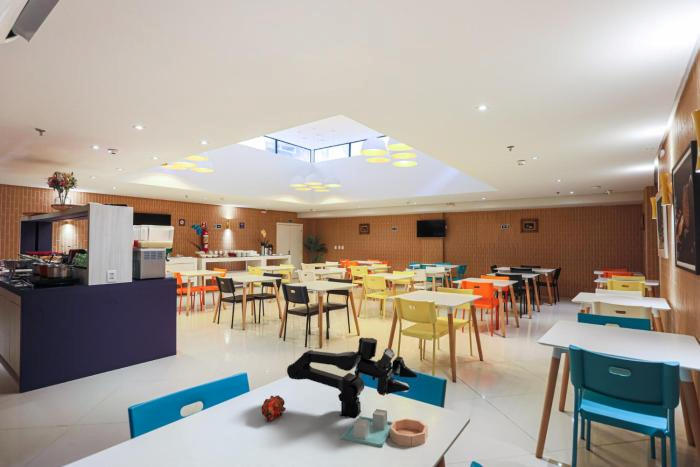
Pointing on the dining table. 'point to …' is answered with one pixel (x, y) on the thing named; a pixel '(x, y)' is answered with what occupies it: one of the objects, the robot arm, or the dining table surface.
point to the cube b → (380, 419)
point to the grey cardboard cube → (361, 429)
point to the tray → (375, 435)
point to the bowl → (409, 432)
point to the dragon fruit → (273, 408)
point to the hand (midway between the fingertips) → (413, 382)
